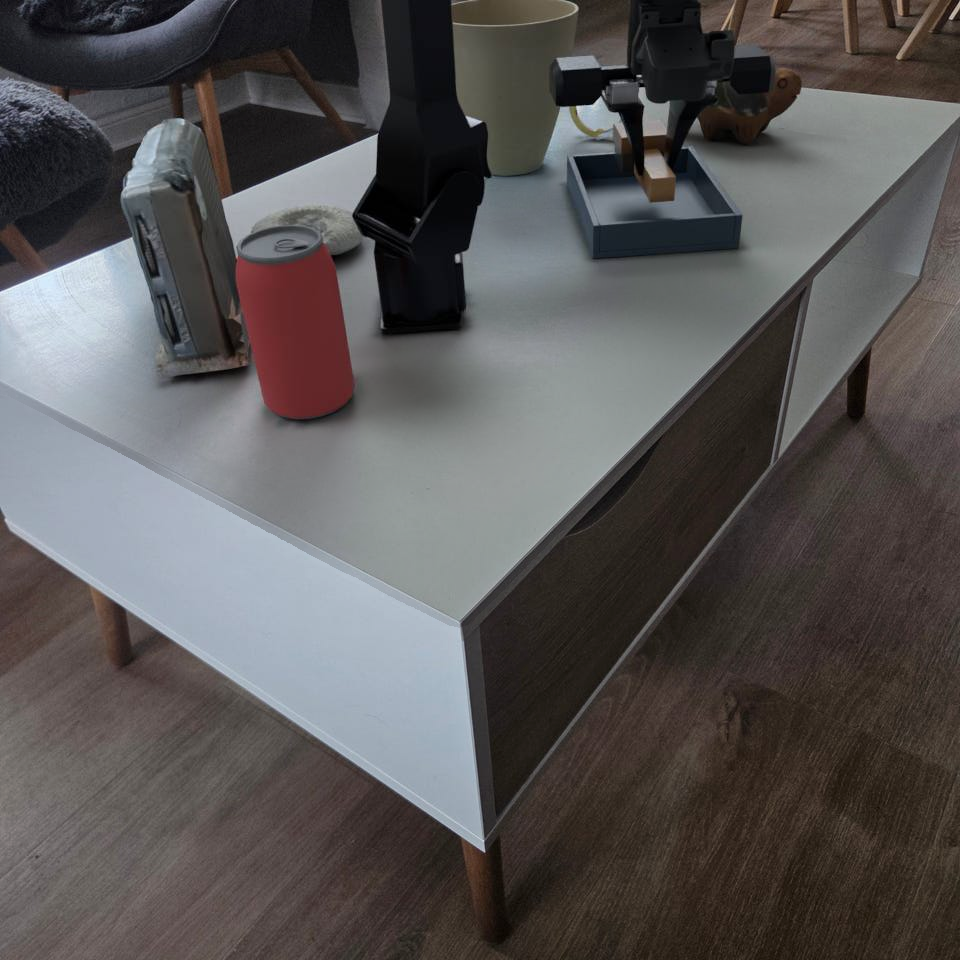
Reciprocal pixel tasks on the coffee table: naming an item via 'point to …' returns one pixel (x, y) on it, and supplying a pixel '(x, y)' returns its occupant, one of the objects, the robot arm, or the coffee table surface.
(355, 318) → the coffee table surface
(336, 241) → the fossil
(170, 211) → the radio
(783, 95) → the decorative turtle
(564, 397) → the coffee table surface
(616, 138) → the brush
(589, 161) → the tray
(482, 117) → the plant pot
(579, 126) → the ring
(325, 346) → the beer can
